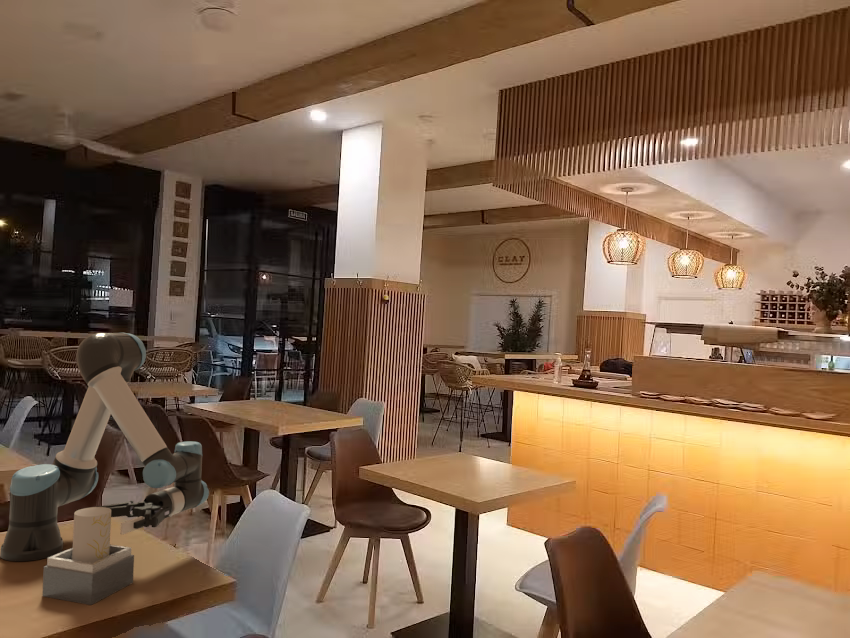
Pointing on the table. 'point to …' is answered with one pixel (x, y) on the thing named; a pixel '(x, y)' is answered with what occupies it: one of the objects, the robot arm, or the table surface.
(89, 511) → the cup
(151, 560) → the table surface
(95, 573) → the box
